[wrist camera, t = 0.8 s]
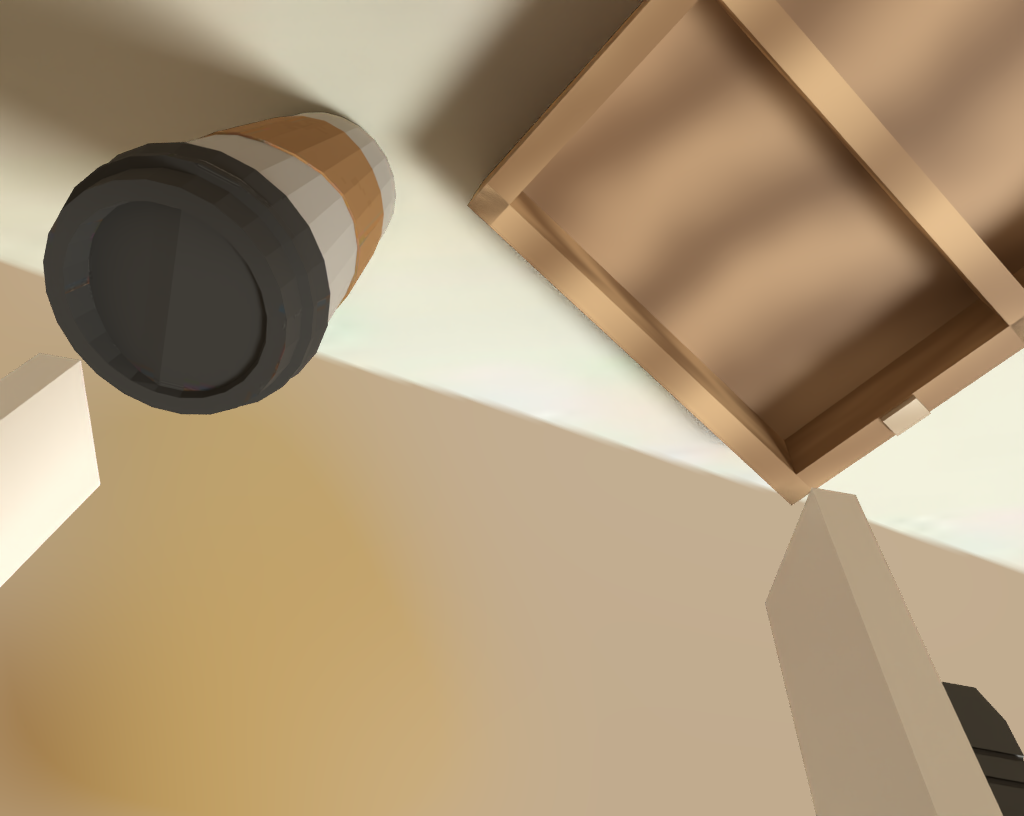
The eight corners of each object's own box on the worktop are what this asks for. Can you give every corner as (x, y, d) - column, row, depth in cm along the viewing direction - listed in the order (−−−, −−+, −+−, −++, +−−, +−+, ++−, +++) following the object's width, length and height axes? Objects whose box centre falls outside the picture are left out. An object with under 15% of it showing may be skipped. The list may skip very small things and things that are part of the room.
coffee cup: (228, 235, 38) (21, 375, 25) (258, 55, 34) (28, 110, 21) (394, 296, 38) (277, 465, 25) (443, 127, 34) (333, 224, 21)
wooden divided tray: (482, 182, 35) (466, 207, 31) (987, -387, 25) (1053, -451, 21) (776, 458, 40) (792, 509, 36) (1300, 83, 30) (1398, 99, 26)
